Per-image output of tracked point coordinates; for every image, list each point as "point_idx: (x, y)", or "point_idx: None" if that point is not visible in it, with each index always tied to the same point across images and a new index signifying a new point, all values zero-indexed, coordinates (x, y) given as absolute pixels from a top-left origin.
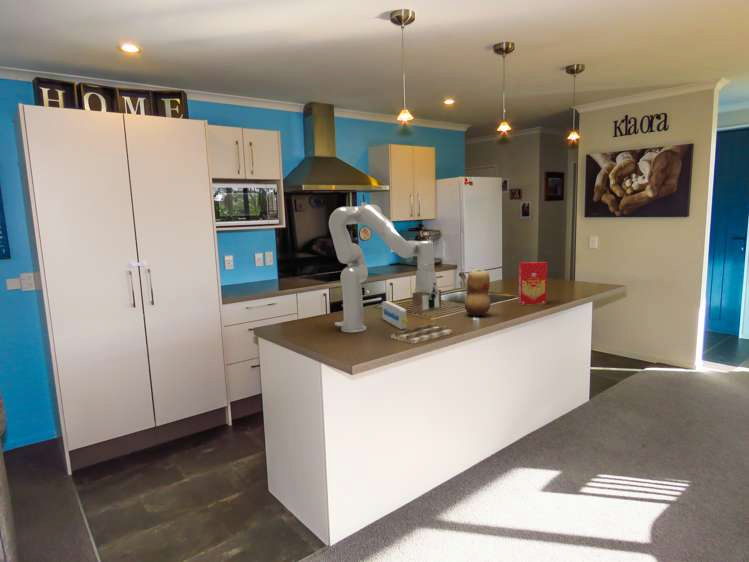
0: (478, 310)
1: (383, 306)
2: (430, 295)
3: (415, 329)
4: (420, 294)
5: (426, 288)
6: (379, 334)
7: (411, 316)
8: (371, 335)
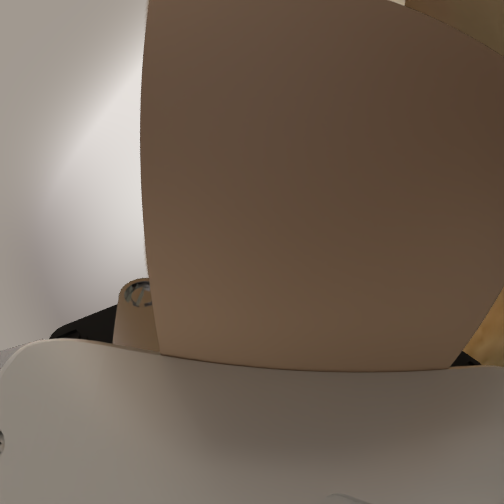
0: None
1: None
2: (120, 336)
3: None
4: (154, 58)
5: (84, 479)
6: (484, 33)
7: (474, 351)
8: (495, 6)
